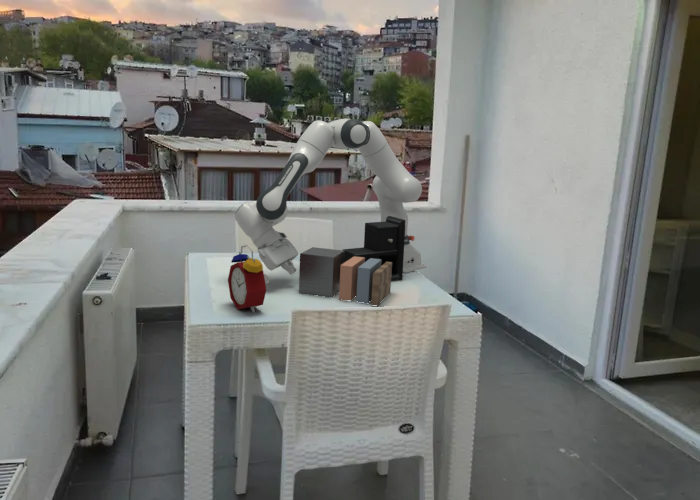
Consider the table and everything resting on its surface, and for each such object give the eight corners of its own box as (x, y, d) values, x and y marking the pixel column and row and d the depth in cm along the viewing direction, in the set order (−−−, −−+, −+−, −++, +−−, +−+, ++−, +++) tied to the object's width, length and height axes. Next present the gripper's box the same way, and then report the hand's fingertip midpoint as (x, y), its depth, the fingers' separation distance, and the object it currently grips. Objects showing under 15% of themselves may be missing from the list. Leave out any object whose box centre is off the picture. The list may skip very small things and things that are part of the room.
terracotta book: (352, 289, 202) (354, 256, 199) (363, 290, 201) (364, 257, 198) (339, 300, 188) (340, 265, 185) (350, 302, 187) (352, 266, 184)
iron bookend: (311, 285, 205) (312, 247, 202) (343, 289, 201) (344, 250, 198) (298, 293, 193) (299, 253, 190) (331, 298, 190) (333, 257, 187)
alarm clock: (227, 303, 179) (227, 241, 175) (252, 299, 184) (252, 239, 180) (247, 316, 167) (247, 250, 163) (273, 312, 172) (274, 248, 168)
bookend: (350, 286, 205) (353, 222, 200) (336, 279, 214) (338, 217, 209) (403, 280, 217) (407, 219, 212) (387, 273, 226) (390, 215, 221)
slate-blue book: (368, 291, 200) (370, 258, 198) (379, 292, 199) (381, 259, 196) (356, 302, 186) (358, 267, 184) (368, 304, 185) (369, 268, 182)
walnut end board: (384, 291, 200) (386, 261, 198) (390, 292, 199) (392, 262, 197) (371, 305, 183) (373, 273, 181) (377, 306, 182) (379, 273, 180)
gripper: (261, 242, 189) (287, 273, 188) (286, 232, 208) (310, 261, 208) (249, 253, 191) (275, 285, 191) (275, 243, 210) (298, 271, 210)
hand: (293, 272), depth 199 cm, fingers closed
